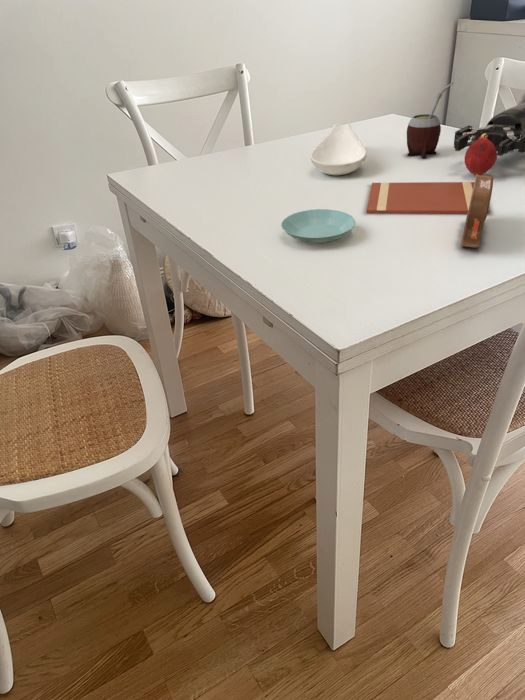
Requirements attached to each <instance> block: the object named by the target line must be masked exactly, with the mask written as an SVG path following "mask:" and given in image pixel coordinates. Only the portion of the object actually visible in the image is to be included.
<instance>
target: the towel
mask: <svg viewBox="0 0 525 700" xmlns="http://www.w3.org/2000/svg"><path fill="white" fill-rule="evenodd" d="M474 182H475V181H440V182H439V181H436V182H434V181H433V182H432V181H431V182H428V181H426V182H425V181H424V182H423V181H422V182H421V181H419V182H417V181H416V182H413V181H411V182H372V183H371V186H370V191H369V196H368V201H367V206H366V211H365V212H366V214H400V215H401V214H403V215H404V214H405V215H408V214H411V215H412V214H413V215H415V214H416V215H420V214H421V215H422V214H423V215H425V214H427V215H436V214H437V215H467V214H468V210H469V205H470V201H471V196H472V191H473V187H474ZM489 213H490V208H489V209H488V213H487V215H489Z"/></svg>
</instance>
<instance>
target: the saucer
mask: <svg viewBox="0 0 525 700" xmlns="http://www.w3.org/2000/svg"><path fill="white" fill-rule="evenodd" d="M280 225H281V229H282V230H283V231H284V232H285V233H286V234H287V235H289V236H290V237H292V238H294V239H296V240H297V241H300V242H303V243H308V244H326V243H331V242H333V241H336V240H339V239H340V238H343V237H344V236H345V235H346V234H348V233H349V232H350V231H351V230H352V229H353V228H355V225H356V219H355V217H353V215H351V214H349V213H347V212H344V211H341V210H337V209H329V208H328V209H327V208H323V209H322V208H318V209H317V208H315V209H306V210H302V211H297V212H294V213H292V214H290V215H288V216H287V217H285V218H283V220H282V221H281V224H280Z"/></svg>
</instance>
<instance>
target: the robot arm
mask: <svg viewBox="0 0 525 700" xmlns="http://www.w3.org/2000/svg"><path fill="white" fill-rule="evenodd" d="M484 133H485V134H487V135H488V137H487V138H488V140H490V141H491V142H492V143H493V144H494V146H495V148H496V150H497V157H501V156H503V155H505V154H508V153H514V152H515V150H517V152H518V153H525V93H523V94H522V96H520V98H519V100H518V101H517V103H516V105H515V106H512V107H509V108H507V109H506V110H503V111H501V112H499V113H498V114H495V115H494V116H492V118H490V120H489V121H488V122H487V124H486V125H485V126H483V127H482V126H481V127H475V128H473V126H472V125H466V126H464V127H462V128H459V129H458V130H455V131H454V138H453V149H454V150H455V152H460V151H462V150H464V149H465V148H467V147H468V148H469V146H470V145H471V144H472V143H474V142H475V141H477V140H478V139H479V138H480V137H481V135H482V134H484Z"/></svg>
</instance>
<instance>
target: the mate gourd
mask: <svg viewBox="0 0 525 700" xmlns="http://www.w3.org/2000/svg"><path fill="white" fill-rule="evenodd" d="M453 84H454V81H452V82H451V83H449V84H448V85H446V86H445V87H443V88H442V89H441V90H440V92H438V93H437V96H436V100H435V102H434V105H433V107H432V108H431V112H430V114H429V113H427V114H426V113H423V114H416V115H414V116H412V117H411V119H410V120H409V122H408V124H407V128H406V146H407V149H408V150H407V151H408V153H407V154H406V155H407V157H418V156H419V157H420V158H421V159H422V160H426V159H427V156H432V155H433V156H434V155H437V151H436V149H437V148H438V144H439V141H440V137H441V132H442V130H441V129H442V126H441V121H440V119H439V117H438V116H437V115H435V112H436V108H437V106H438V104H439V101H440V100H441V98H442V96H443V94H444V93H445V91H447V90H448V89H449V88H450V87H451V86H452V85H453Z"/></svg>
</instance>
